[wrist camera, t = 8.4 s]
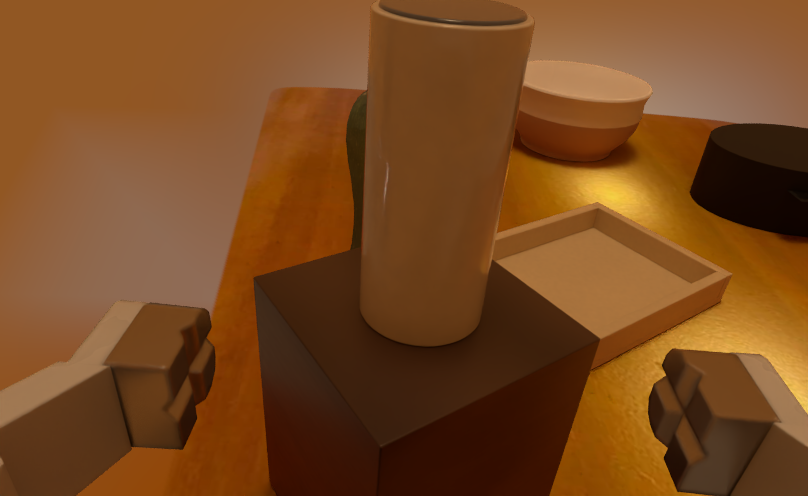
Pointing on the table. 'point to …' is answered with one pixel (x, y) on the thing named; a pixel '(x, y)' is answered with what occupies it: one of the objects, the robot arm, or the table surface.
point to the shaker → (436, 161)
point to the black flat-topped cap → (756, 176)
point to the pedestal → (414, 391)
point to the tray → (610, 275)
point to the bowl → (578, 109)
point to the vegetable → (357, 161)
